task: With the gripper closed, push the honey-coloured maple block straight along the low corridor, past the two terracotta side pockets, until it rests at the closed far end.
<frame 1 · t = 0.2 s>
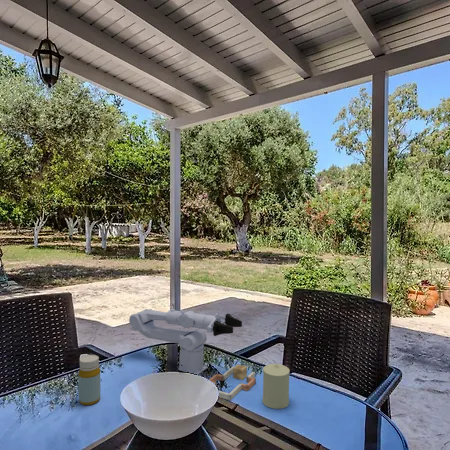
hand: (237, 327, 143), 21 cm above the table, tool horizontal, fingers open, 7 cm apart
bottle: (89, 401, 129), on the table
block: (240, 377, 148), on the table
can: (275, 402, 130), on the table
cream and orange frame: (231, 384, 141), on the table
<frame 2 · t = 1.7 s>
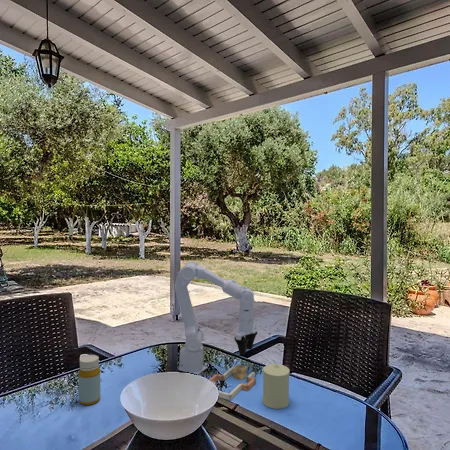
hand: (245, 351, 151), 8 cm above the table, tool pointing down, fingers open, 6 cm apart
nothing on the table moved.
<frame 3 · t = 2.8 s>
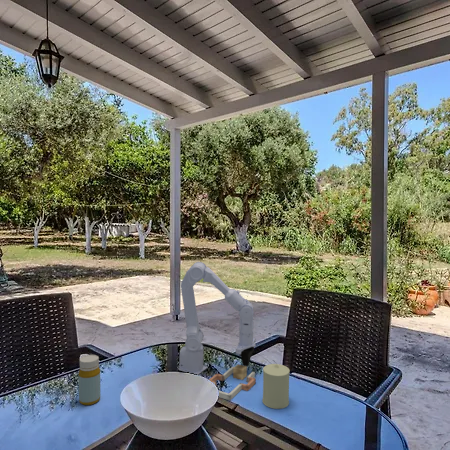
hand: (245, 365, 152), 3 cm above the table, tool pointing down, fingers closed
nothing on the table moved.
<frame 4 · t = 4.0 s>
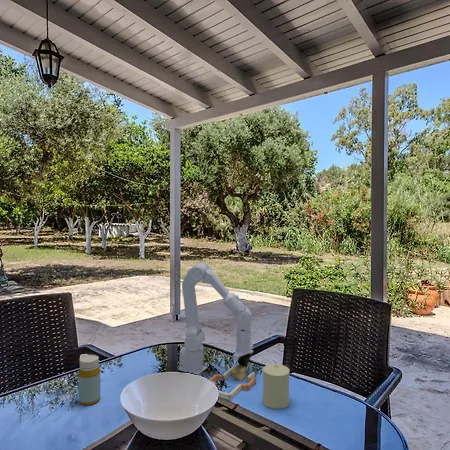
hand: (243, 371, 150), 1 cm above the table, tool pointing down, fingers closed
block: (239, 377, 147), on the table, touching gripper
everything else where it was.
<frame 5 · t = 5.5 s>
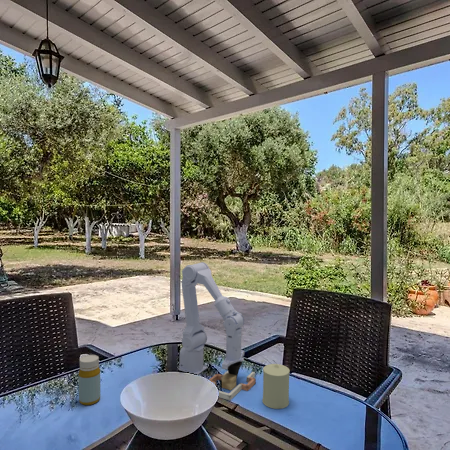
hand: (233, 380, 143), 1 cm above the table, tool pointing down, fingers closed
block: (229, 386, 140), on the table, touching gripper
everything else where it was.
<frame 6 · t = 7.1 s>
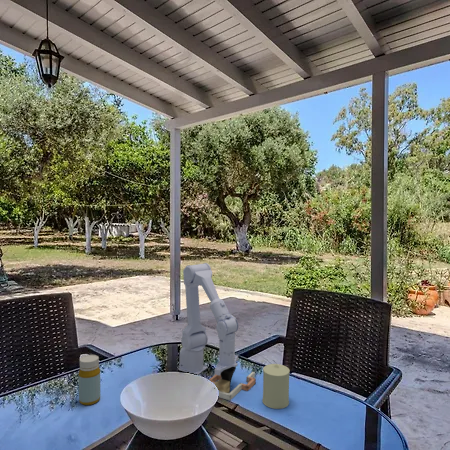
hand: (226, 386, 138), 1 cm above the table, tool pointing down, fingers closed
block: (222, 392, 135), on the table, touching gripper
everything else where it was.
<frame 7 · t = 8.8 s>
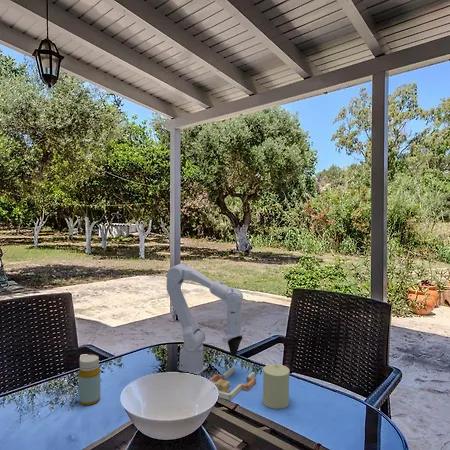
hand: (233, 354, 149), 8 cm above the table, tool pointing down, fingers closed
block: (222, 393, 135), on the table
everything else where it was.
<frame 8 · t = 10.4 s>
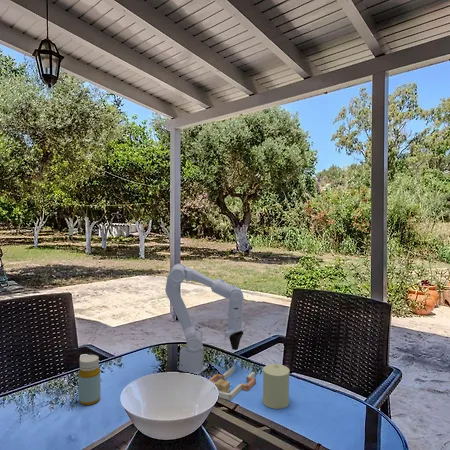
hand: (235, 349, 154), 8 cm above the table, tool pointing down, fingers closed
nothing on the table moved.
at the end: block 0.1 cm from the target spot, on the table; block tilted 0° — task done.
